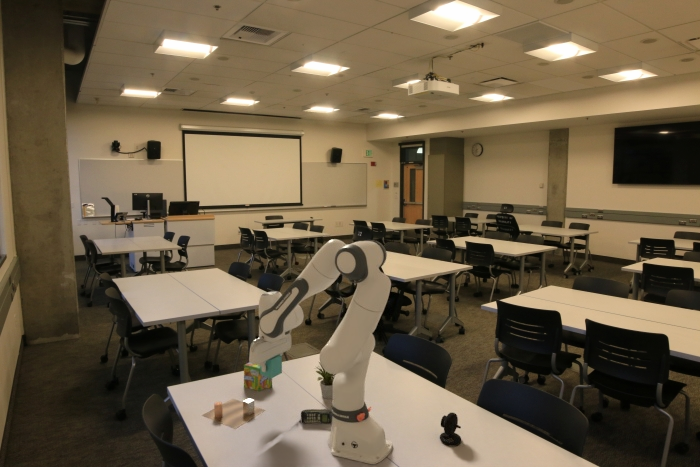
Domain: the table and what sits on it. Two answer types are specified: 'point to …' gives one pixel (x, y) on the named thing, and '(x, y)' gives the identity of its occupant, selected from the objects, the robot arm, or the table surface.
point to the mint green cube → (273, 367)
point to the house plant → (326, 383)
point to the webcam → (450, 429)
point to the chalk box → (255, 378)
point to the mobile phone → (316, 416)
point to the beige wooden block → (248, 406)
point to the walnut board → (233, 414)
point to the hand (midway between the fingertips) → (271, 367)
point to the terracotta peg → (218, 410)
